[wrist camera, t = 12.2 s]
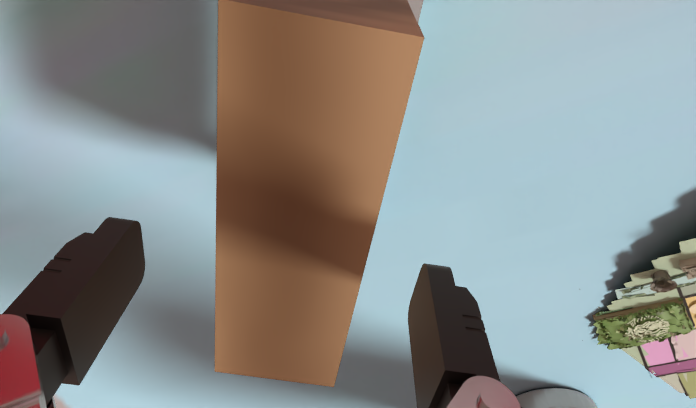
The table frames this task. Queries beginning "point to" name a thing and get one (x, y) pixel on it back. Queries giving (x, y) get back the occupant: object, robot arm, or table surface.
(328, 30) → the brown wooden block
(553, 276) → the table surface
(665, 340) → the city model
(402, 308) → the table surface
